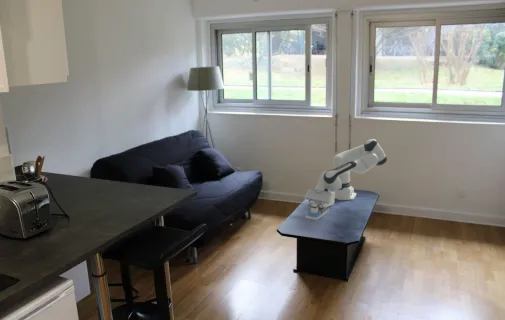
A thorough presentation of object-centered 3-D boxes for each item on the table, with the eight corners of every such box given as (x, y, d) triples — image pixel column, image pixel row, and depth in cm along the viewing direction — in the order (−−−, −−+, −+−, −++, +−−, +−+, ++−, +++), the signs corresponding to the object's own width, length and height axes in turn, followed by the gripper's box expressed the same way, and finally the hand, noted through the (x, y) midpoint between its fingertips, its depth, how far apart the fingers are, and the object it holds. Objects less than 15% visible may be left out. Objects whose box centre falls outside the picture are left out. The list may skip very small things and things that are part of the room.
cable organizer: (322, 209, 353) (322, 195, 351) (312, 206, 361) (312, 192, 358) (334, 204, 363) (334, 191, 360) (324, 201, 371) (324, 188, 368)
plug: (313, 213, 342) (313, 203, 340) (318, 214, 340) (318, 204, 338) (310, 215, 339) (310, 205, 337) (315, 216, 337) (315, 206, 334)
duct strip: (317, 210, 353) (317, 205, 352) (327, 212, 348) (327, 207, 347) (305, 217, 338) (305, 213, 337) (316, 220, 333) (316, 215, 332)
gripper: (307, 186, 347) (300, 201, 342) (331, 190, 336) (325, 206, 331) (310, 190, 352) (303, 205, 347) (334, 194, 340) (327, 210, 335)
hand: (314, 206), depth 339 cm, fingers open, 8 cm apart
